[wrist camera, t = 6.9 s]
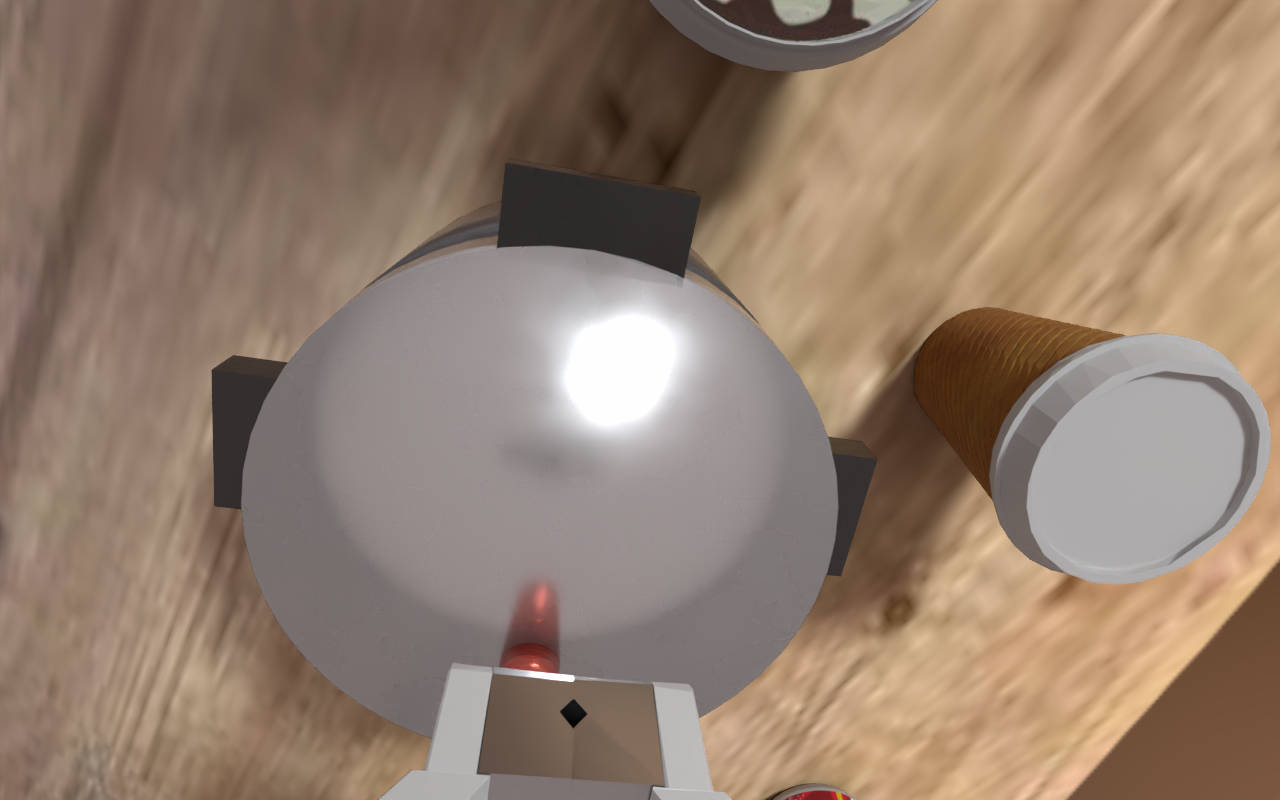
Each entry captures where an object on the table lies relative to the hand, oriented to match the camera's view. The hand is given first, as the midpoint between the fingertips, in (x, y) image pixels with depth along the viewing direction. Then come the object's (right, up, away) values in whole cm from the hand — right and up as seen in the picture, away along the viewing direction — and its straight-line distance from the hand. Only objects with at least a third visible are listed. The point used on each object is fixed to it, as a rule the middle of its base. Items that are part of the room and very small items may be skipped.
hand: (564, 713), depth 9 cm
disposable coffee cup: (+17, +5, +28) cm, 33 cm away
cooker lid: (-2, +1, +15) cm, 15 cm away
